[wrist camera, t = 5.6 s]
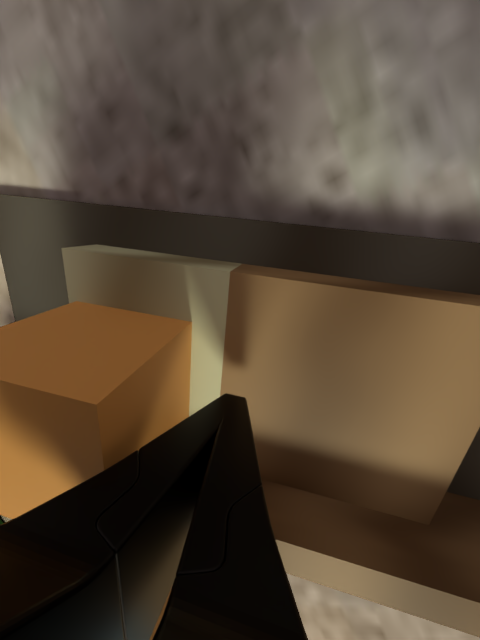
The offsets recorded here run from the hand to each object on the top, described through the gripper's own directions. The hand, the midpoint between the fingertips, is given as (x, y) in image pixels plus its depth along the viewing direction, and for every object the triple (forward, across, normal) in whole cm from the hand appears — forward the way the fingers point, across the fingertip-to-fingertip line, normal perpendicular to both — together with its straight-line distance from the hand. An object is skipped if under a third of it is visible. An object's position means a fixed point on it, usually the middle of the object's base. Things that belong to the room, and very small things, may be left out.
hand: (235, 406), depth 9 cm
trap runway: (+3, 0, 0) cm, 3 cm away
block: (+1, +4, 0) cm, 4 cm away
